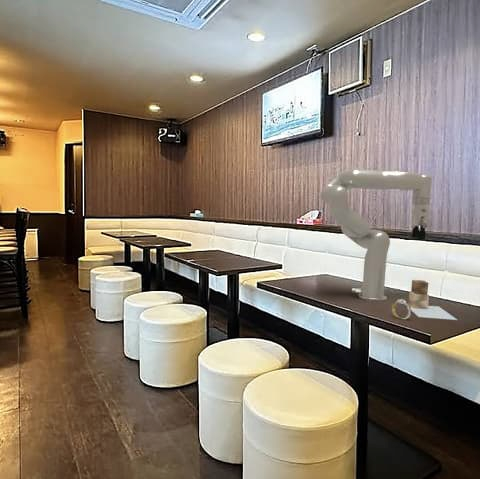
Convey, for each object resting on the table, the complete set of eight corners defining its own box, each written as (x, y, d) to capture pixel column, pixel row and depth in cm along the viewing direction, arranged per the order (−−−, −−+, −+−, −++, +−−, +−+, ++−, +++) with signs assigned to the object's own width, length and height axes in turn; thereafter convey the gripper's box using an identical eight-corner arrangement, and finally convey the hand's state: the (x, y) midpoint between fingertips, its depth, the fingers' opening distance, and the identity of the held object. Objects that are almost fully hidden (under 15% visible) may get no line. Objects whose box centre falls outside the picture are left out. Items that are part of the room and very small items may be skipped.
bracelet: (389, 318, 150) (391, 297, 150) (394, 317, 152) (396, 296, 152) (406, 323, 145) (408, 301, 144) (411, 321, 147) (413, 300, 146)
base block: (412, 308, 164) (413, 294, 163) (408, 304, 170) (409, 290, 169) (427, 309, 163) (429, 295, 163) (423, 305, 169) (424, 291, 169)
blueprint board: (418, 318, 151) (418, 316, 151) (403, 305, 172) (404, 303, 172) (457, 322, 149) (457, 319, 149) (437, 307, 170) (438, 305, 170)
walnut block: (414, 293, 164) (415, 282, 163) (411, 291, 169) (412, 279, 168) (427, 294, 163) (428, 282, 163) (423, 292, 168) (424, 280, 168)
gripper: (435, 202, 173) (432, 240, 175) (424, 202, 190) (421, 237, 192) (417, 201, 175) (414, 239, 176) (407, 201, 192) (405, 236, 193)
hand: (418, 238), depth 184 cm, fingers open, 9 cm apart
